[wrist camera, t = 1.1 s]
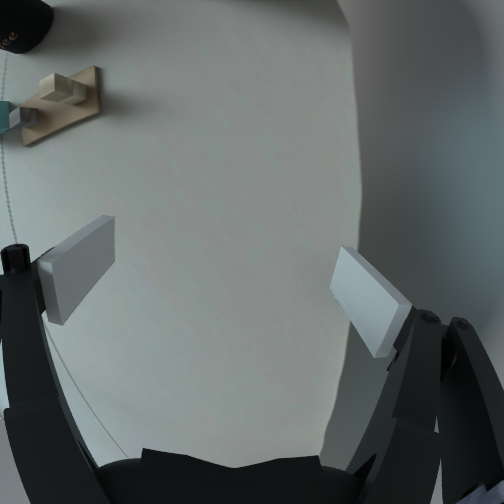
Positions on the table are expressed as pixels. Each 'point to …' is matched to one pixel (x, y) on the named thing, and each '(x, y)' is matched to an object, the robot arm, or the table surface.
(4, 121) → the teal rectangular block
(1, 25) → the coffee jar
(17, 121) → the stand
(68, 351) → the table surface
